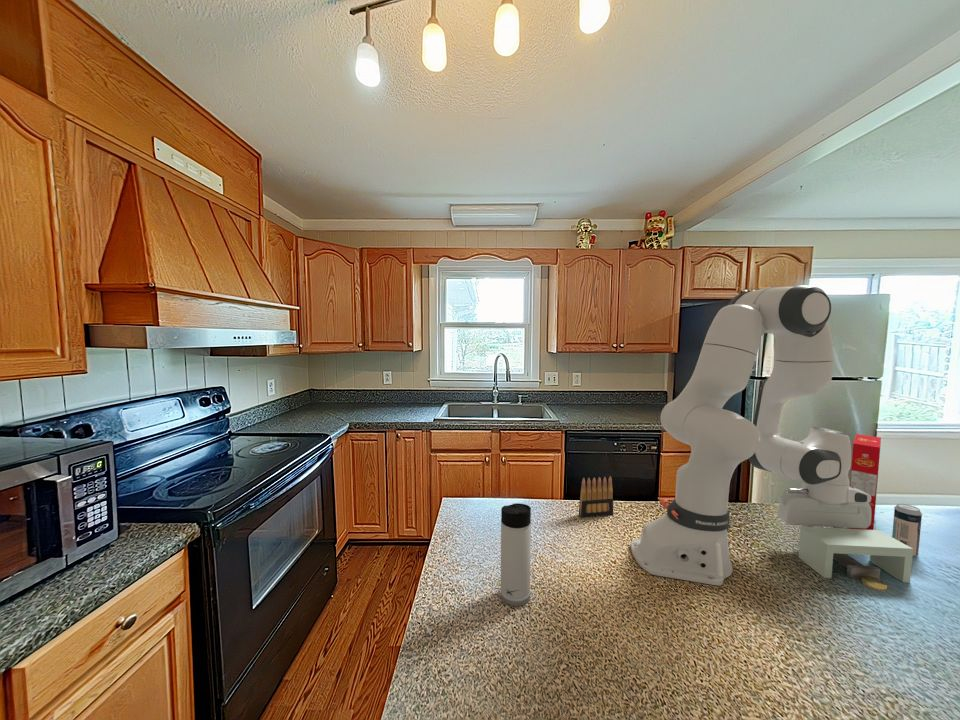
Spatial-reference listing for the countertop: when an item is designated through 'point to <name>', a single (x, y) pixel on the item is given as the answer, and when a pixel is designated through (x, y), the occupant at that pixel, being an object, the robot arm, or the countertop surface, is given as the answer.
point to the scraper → (855, 566)
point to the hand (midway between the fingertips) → (821, 541)
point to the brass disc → (874, 583)
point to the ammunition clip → (596, 498)
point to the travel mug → (515, 554)
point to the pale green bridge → (854, 549)
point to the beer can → (907, 526)
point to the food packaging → (866, 469)
